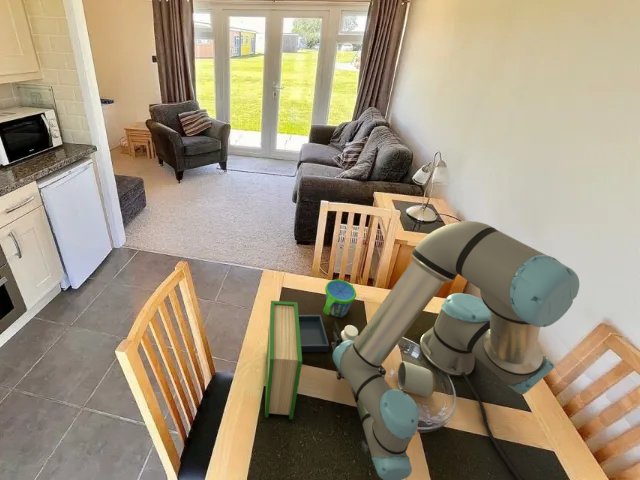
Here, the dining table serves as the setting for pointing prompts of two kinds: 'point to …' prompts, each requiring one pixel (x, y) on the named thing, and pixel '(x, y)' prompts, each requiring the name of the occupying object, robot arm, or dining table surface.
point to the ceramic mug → (415, 379)
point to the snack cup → (338, 297)
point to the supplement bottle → (349, 333)
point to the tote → (312, 334)
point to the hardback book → (283, 359)
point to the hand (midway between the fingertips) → (344, 324)
